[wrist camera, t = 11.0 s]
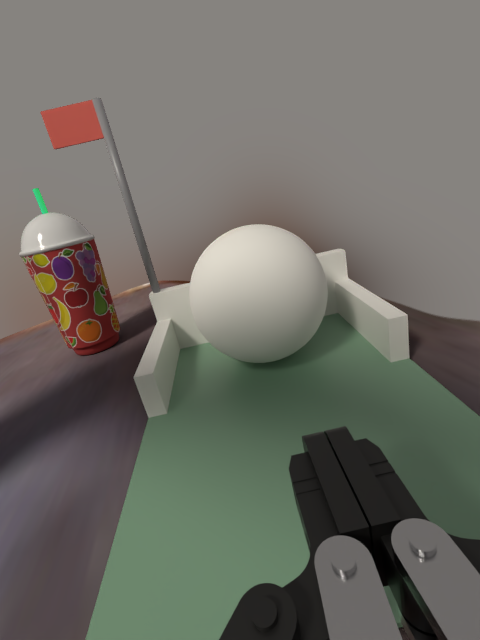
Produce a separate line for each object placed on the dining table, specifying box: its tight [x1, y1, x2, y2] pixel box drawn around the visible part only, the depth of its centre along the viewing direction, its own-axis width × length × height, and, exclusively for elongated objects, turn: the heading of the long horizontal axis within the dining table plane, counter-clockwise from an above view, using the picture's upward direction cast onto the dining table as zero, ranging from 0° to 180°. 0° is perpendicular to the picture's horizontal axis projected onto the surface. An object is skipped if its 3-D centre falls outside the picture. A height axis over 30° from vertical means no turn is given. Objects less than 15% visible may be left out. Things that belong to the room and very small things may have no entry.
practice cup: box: [41, 98, 480, 640], centre depth 21 cm, size 25×30×25 cm
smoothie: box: [19, 188, 120, 355], centre depth 42 cm, size 8×8×20 cm
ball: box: [189, 224, 328, 363], centre depth 30 cm, size 12×12×12 cm
